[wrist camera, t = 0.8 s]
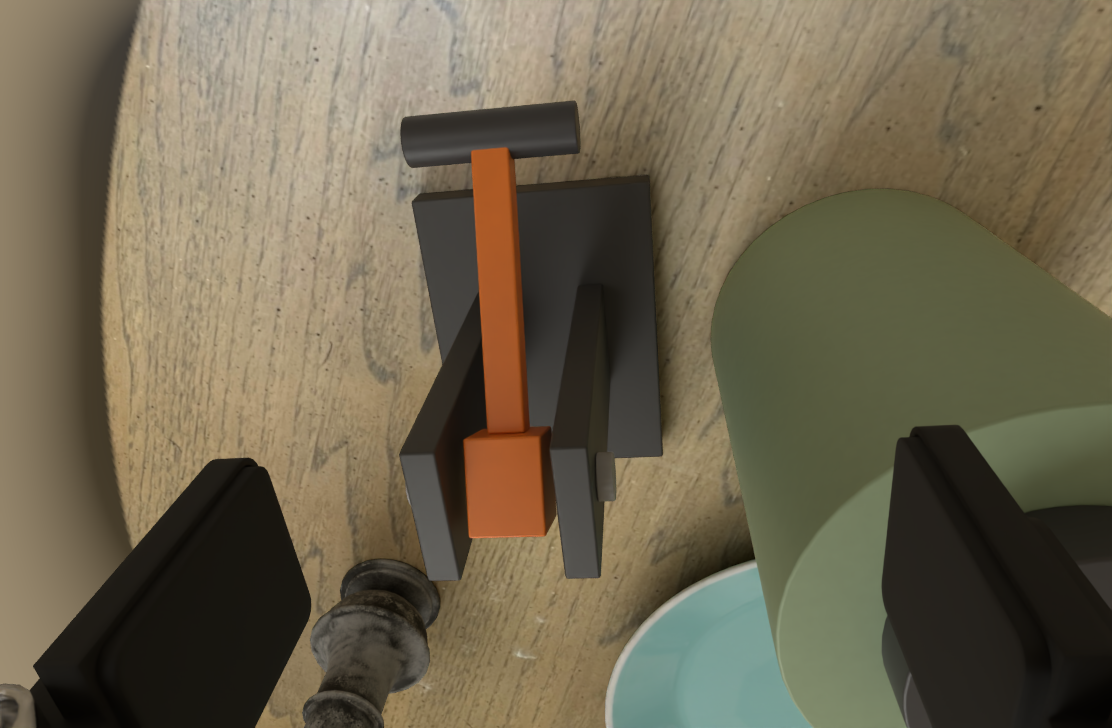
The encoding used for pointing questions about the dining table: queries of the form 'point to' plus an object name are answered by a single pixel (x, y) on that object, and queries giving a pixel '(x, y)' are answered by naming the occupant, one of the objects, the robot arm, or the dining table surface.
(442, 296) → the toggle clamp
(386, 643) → the chess piece
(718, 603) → the plate
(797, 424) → the green canister
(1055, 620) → the robot arm
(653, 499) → the dining table surface
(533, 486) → the orange pivot lever
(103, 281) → the dining table surface
